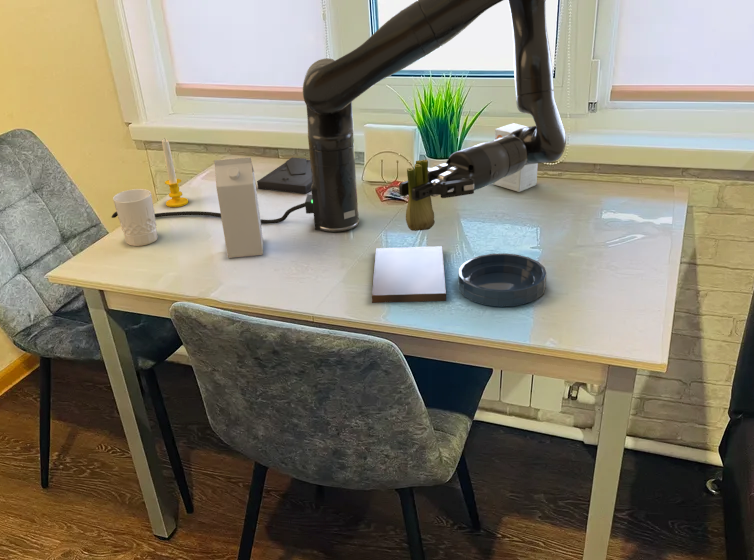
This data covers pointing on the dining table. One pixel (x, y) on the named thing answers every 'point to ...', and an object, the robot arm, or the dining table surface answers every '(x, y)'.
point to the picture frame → (289, 177)
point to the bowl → (502, 279)
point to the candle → (172, 179)
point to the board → (409, 275)
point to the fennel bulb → (421, 210)
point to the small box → (522, 177)
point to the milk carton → (239, 207)
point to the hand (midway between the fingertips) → (407, 192)
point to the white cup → (136, 216)
